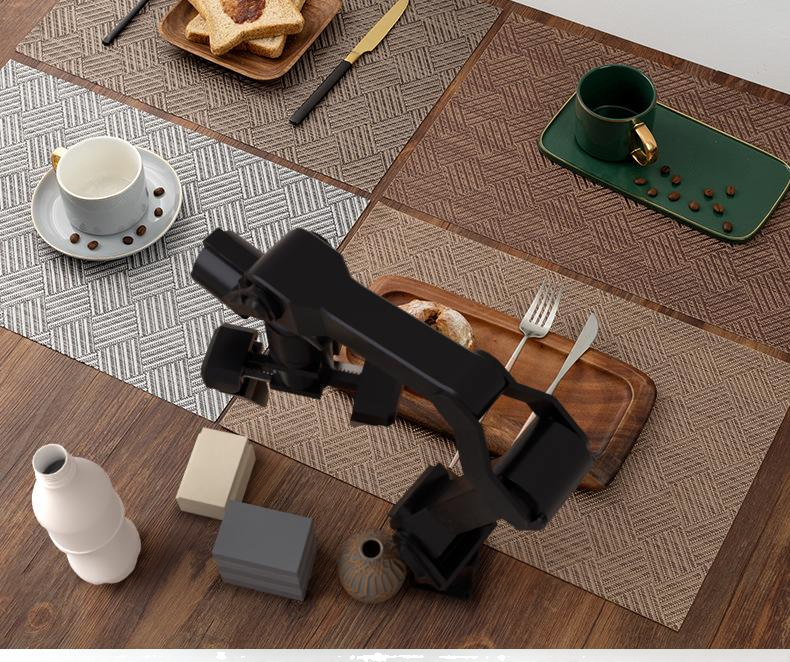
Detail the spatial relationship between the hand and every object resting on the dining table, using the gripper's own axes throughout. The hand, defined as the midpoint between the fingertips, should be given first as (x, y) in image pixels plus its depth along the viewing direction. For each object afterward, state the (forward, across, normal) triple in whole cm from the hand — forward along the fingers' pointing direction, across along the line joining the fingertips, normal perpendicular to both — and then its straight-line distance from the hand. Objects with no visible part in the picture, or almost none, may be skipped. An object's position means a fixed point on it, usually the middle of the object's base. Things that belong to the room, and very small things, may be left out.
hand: (309, 412), depth 113 cm
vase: (+12, -9, +11) cm, 19 cm away
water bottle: (+12, +18, +15) cm, 26 cm away
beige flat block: (+8, +9, +5) cm, 14 cm away
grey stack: (+12, +1, +12) cm, 17 cm away
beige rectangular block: (+12, +9, +5) cm, 16 cm away
